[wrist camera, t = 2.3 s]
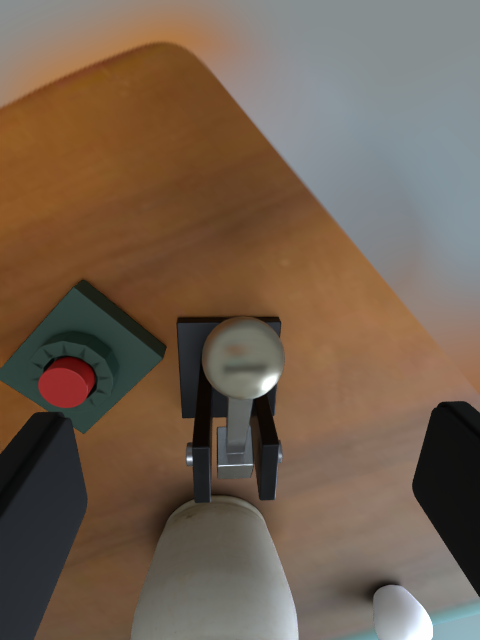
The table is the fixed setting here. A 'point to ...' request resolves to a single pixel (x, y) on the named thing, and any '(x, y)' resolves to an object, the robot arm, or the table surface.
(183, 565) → the jug
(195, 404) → the bracket
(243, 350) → the lever
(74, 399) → the button
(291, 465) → the table surface
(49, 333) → the button box
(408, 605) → the plain white apple
